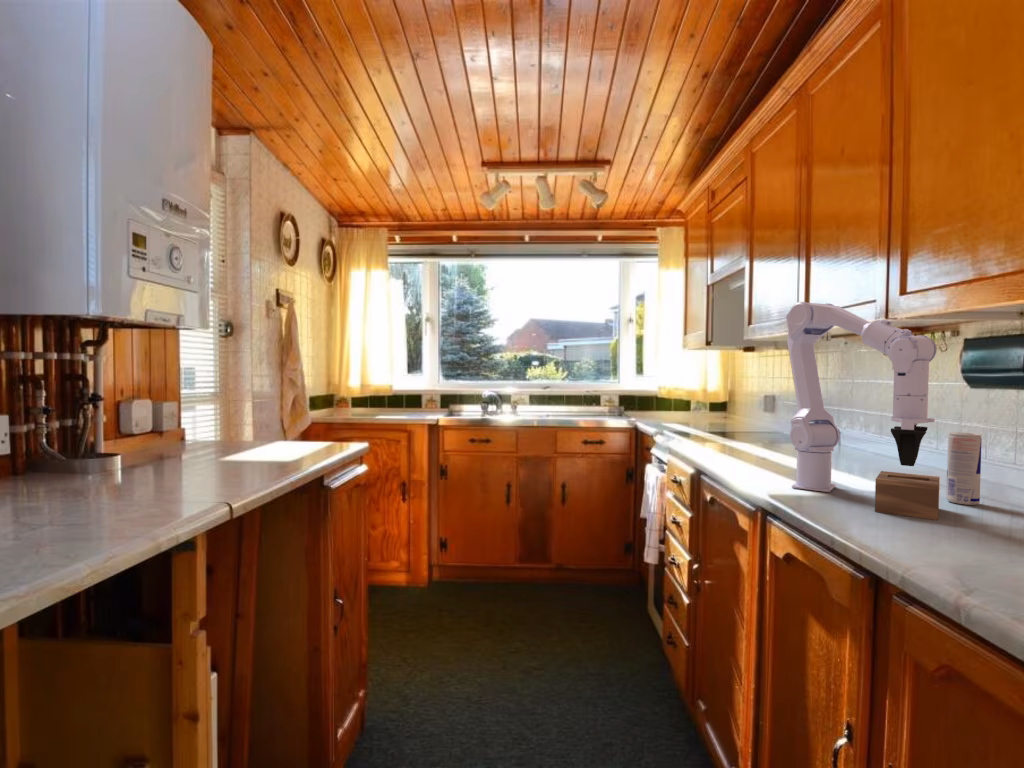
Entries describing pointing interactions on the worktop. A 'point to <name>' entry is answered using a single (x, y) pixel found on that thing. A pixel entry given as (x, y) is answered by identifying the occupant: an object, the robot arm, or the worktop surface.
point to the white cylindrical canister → (963, 468)
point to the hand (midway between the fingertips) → (908, 463)
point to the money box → (907, 494)
